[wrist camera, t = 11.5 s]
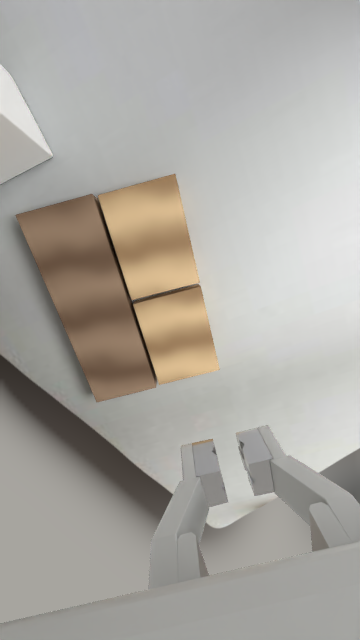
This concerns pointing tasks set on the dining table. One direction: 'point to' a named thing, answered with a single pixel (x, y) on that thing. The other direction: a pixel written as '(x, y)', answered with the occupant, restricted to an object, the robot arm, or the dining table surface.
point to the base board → (90, 295)
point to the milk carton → (18, 132)
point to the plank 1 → (150, 236)
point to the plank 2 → (177, 334)
